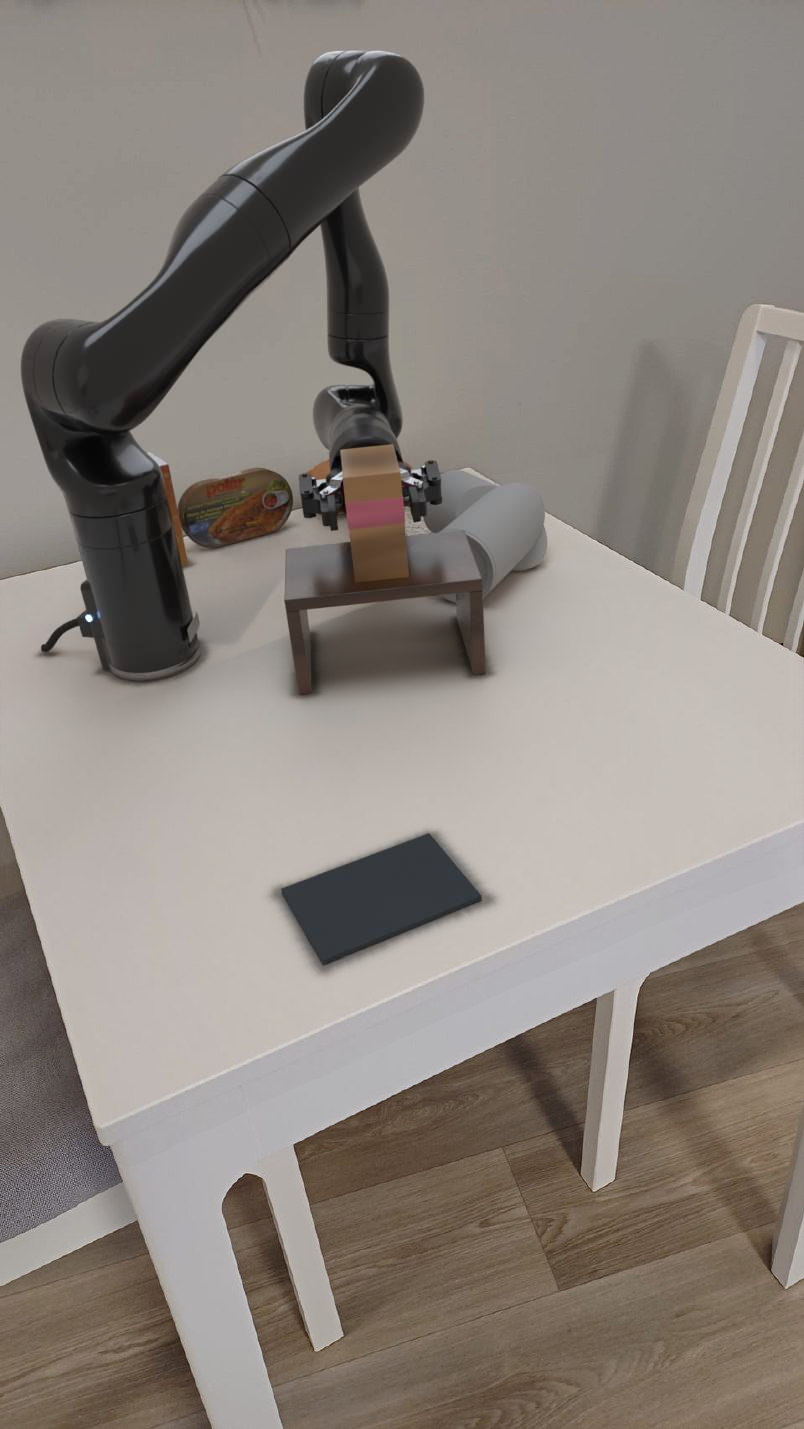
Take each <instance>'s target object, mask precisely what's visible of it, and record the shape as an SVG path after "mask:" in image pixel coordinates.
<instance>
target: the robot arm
mask: <svg viewBox="0 0 804 1429" xmlns="http://www.w3.org/2000/svg"><path fill="white" fill-rule="evenodd" d="M304 82H305V83H304V89H303V120H304V128H305V130H304V131H302V132H299V133H298V134H296V135H294V136H291V137H289V138H287V139H284V140H282V141H279V142H278V143H275V144H272V145H271V146H267V147H266V148H264V149H262V150H260V151H258V152H256V153H254V154H252V155H250V156H247V157H246V158H244V159H243V160H241V161H239V162H237V163H235V164H234V165H232V166H231V167H229V168H228V169H227V170H225V172H223V173H222V174H221V175H220V176H218V177H217V178H216V179H215V180H214V181H213V182H212V183H211V184H210V185H209V186H208V187H207V188H206V189H205V190H204V191H203V192H202V193H201V194H200V195H199V196H197V197H196V199H195V200H193V202H191V204H190V205H189V206H188V207H187V208H186V210H185V211H184V212H183V214H182V216H181V217H180V219H179V220H178V222H177V224H176V226H175V228H174V231H173V233H172V236H171V239H170V242H169V246H168V248H167V252H166V256H165V258H164V261H163V264H162V266H161V268H160V270H159V271H158V272H157V274H156V275H155V277H154V278H153V279H152V280H151V282H150V283H148V285H146V287H145V288H144V289H142V290H141V291H140V292H139V293H138V294H137V295H136V296H135V297H133V299H131V301H130V302H128V303H127V304H126V305H125V306H123V307H122V308H121V309H120V310H118V311H117V312H116V313H114V314H112V315H111V316H110V317H107V319H104V320H101V321H91V320H83V319H75V318H56V319H55V318H54V319H50V320H48V321H45V322H43V323H42V324H40V325H39V326H37V327H36V328H34V330H33V331H32V332H31V333H30V334H29V336H28V337H27V339H26V340H25V343H24V345H23V347H22V351H21V357H20V380H21V387H22V391H23V396H24V399H25V404H26V406H27V410H28V414H29V416H30V419H31V423H32V426H33V430H34V432H35V436H36V438H37V441H38V445H39V447H40V450H41V453H42V457H43V460H44V462H45V465H46V468H47V471H48V473H49V475H50V477H51V479H52V480H53V482H54V483H55V484H56V486H57V488H58V489H59V490H60V492H61V493H62V496H63V498H64V501H65V505H66V508H67V511H68V514H69V518H70V522H71V525H72V529H73V533H74V537H75V540H76V543H77V547H78V551H79V555H80V559H81V563H82V567H83V570H84V574H85V577H86V579H85V580H84V581H82V582H81V584H80V587H79V589H80V594H81V597H82V601H83V605H84V607H85V609H84V611H82V612H81V613H80V614H79V615H78V616H77V617H76V618H73V619H71V620H69V621H67V622H64V623H62V624H61V625H60V626H58V627H57V628H56V629H54V631H53V632H52V633H51V635H50V636H49V638H48V639H47V641H46V642H45V643H42V644H41V646H40V651H41V652H42V653H48V652H50V651H52V649H53V648H54V647H55V645H56V644H57V642H58V641H59V640H60V638H61V637H62V636H63V635H64V634H65V633H67V632H68V631H70V630H72V629H74V628H78V627H79V630H80V634H81V637H82V638H91V639H92V638H93V641H94V643H95V647H96V650H97V651H96V652H97V654H98V658H99V662H100V665H101V669H102V670H103V671H109V672H110V671H111V673H112V674H113V675H114V676H116V677H118V678H121V679H123V680H129V681H151V680H152V681H153V680H158V679H162V678H166V677H170V676H172V675H175V674H178V673H180V672H182V671H184V670H186V669H188V668H190V666H192V665H193V664H194V663H195V662H197V661H198V659H199V657H200V656H201V654H202V648H201V642H200V640H199V638H198V636H199V635H198V632H197V631H198V629H199V627H200V625H201V622H200V619H199V612H198V611H196V612H195V614H193V610H192V604H191V599H190V596H189V590H188V587H187V581H186V577H185V572H184V568H183V567H184V566H182V562H181V558H180V553H179V548H178V543H177V539H176V534H175V529H174V525H173V520H172V516H171V511H170V506H169V502H168V497H167V493H166V488H165V483H164V479H163V475H162V471H161V469H160V467H159V465H158V463H157V462H156V461H155V460H154V459H153V458H152V457H151V456H149V455H148V454H147V453H148V452H146V451H145V450H144V449H143V447H142V446H141V445H140V444H139V443H138V442H137V440H136V439H135V437H134V435H133V434H132V432H131V431H132V430H134V429H136V428H138V427H139V425H141V424H142V423H143V422H145V421H146V420H147V419H148V418H149V417H150V416H151V415H152V414H153V412H155V411H156V409H157V408H158V406H159V405H160V404H161V403H162V402H163V400H164V399H165V397H166V396H167V395H168V394H169V392H170V391H171V389H172V388H173V386H174V385H175V384H176V383H177V381H179V379H180V377H181V376H182V375H183V373H185V371H186V370H187V368H188V366H189V365H190V364H191V363H192V361H193V360H194V359H195V357H196V356H197V355H198V353H199V352H200V351H201V350H202V349H203V347H204V346H206V344H207V343H208V342H209V340H211V338H213V336H215V334H217V332H219V330H221V328H222V327H223V326H224V325H225V324H226V323H227V322H228V321H229V320H230V319H231V318H232V317H233V316H234V315H235V314H236V313H237V312H238V310H239V309H240V308H241V307H242V306H243V305H244V304H245V302H247V300H248V299H250V298H251V297H252V295H254V293H256V292H257V291H258V290H259V289H260V288H261V287H262V286H263V285H265V283H266V282H268V280H269V279H270V278H271V277H272V276H273V275H274V274H276V272H277V271H278V270H279V269H280V268H281V267H282V266H283V265H284V264H285V263H286V262H287V261H288V260H289V258H290V257H291V256H292V255H293V254H294V252H295V251H297V249H298V248H299V247H300V246H301V245H302V244H303V243H304V242H305V240H307V238H308V237H309V236H311V234H312V233H313V232H315V231H316V229H317V228H319V227H320V234H321V239H322V240H321V241H322V246H323V254H324V265H325V266H324V267H325V280H326V282H325V283H326V333H327V335H326V338H327V339H326V341H327V352H328V353H327V354H328V356H329V359H331V361H332V362H334V363H335V364H338V365H341V366H345V367H349V368H353V369H357V370H360V371H363V372H365V373H366V374H367V375H368V376H369V377H370V378H371V381H372V384H347V385H346V384H332V385H328V386H325V387H324V388H322V389H321V390H320V391H319V392H318V393H317V395H316V397H315V399H314V402H313V406H312V423H313V427H314V431H315V433H316V436H317V438H318V440H319V441H320V442H321V444H322V446H323V447H324V448H325V449H326V450H328V460H329V462H330V463H329V465H330V466H329V467H330V473H329V474H328V475H327V476H326V479H321V480H316V478H315V477H312V478H311V474H308V473H306V472H304V473H300V474H298V483H299V484H298V485H299V494H300V500H301V506H302V507H301V508H302V515H303V518H304V519H314V518H315V517H317V515H320V517H321V524H322V526H323V527H325V528H326V527H329V528H330V529H329V530H330V532H335V531H336V532H337V531H339V524H338V522H339V521H338V515H340V514H339V513H342V514H341V515H347V514H346V504H345V495H344V486H343V476H342V474H343V473H342V463H341V454H340V450H343V449H353V448H362V447H372V446H382V445H391V444H393V445H394V449H395V453H396V457H397V461H398V464H399V468H400V472H401V484H402V495H403V502H404V508H405V507H408V508H409V511H410V513H411V520H412V522H413V523H419V522H421V523H422V518H423V516H426V515H427V502H430V504H431V505H439V504H441V503H442V495H441V476H440V475H441V473H440V469H439V465H438V460H434V459H429V460H426V461H424V465H421V466H420V468H417V469H413V470H411V469H410V467H409V466H407V465H405V464H404V463H403V461H404V460H403V455H402V452H401V448H400V445H399V442H398V438H399V436H400V435H401V432H402V429H403V424H404V422H403V421H404V417H403V411H402V406H401V402H400V398H399V395H398V390H397V387H396V384H395V381H394V380H395V379H394V374H393V371H392V364H391V357H390V288H389V280H388V276H387V271H386V268H385V265H384V262H383V259H382V257H381V253H380V252H379V248H378V246H377V244H376V242H375V238H374V236H373V234H372V232H371V228H370V226H369V223H368V220H367V217H366V213H365V209H364V206H363V204H362V199H361V193H360V187H361V186H362V185H364V184H365V183H366V182H368V181H369V180H371V179H372V177H374V176H375V175H377V174H378V173H379V172H381V171H382V170H383V169H384V168H386V167H387V166H388V165H389V164H390V163H392V162H393V161H394V160H395V159H396V158H397V157H400V155H401V154H402V153H403V152H404V151H406V149H407V148H408V146H409V144H411V142H412V140H413V139H414V137H415V135H416V133H417V131H418V129H419V127H420V124H421V121H422V117H423V115H424V114H423V113H424V106H425V87H424V82H423V79H422V77H421V74H420V72H419V71H418V70H417V68H416V66H415V65H414V64H413V63H412V62H411V61H410V60H409V59H407V57H405V56H402V55H400V54H398V53H394V52H391V51H386V50H378V49H377V50H332V51H328V52H325V53H323V54H321V55H319V56H318V57H317V58H316V59H315V60H314V61H313V62H312V65H311V66H310V68H309V70H308V72H307V75H306V78H305V81H304Z"/></svg>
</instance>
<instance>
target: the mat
mask: <svg viewBox="0 0 804 1429" xmlns="http://www.w3.org/2000/svg"><path fill="white" fill-rule="evenodd" d="M280 891H281V894H282V895H283V897H284V899H285V902H286V903H287V904H288V906H289V909H291V911H292V913H293V915H294V916H295V918H296V920H297V922H298V924H299V925H300V927H301V929H302V930H303V932H304V934H305V935H306V938H307V939H308V942H310V944H311V946H312V948H313V949H314V951H315V953H316V955H317V957H318V958H319V960H320V962H321V964H322V965H326V964H328V963H330V962H334V961H336V960H337V959H341V958H344V957H345V956H348V955H350V954H352V953H355V952H357V951H360V950H362V949H365V948H367V947H371V946H373V945H375V944H377V943H379V942H382V941H384V940H387V939H390V938H393V937H394V936H396V935H400V934H401V933H404V932H407V931H410V930H411V929H414V928H417V927H419V926H422V925H424V924H426V923H428V922H430V921H433V920H436V919H438V918H441V917H443V916H446V915H448V914H450V913H453V912H456V911H458V910H460V909H463V908H465V907H468V906H470V905H472V904H475V903H477V902H480V901H482V900H483V898H482V894H480V892H479V891H478V890H477V888H476V887H475V886H474V885H473V883H472V882H471V881H470V880H469V878H467V876H465V874H464V873H463V872H462V870H461V869H460V868H459V866H457V864H456V863H455V862H454V861H453V860H452V859H451V857H450V856H449V855H448V854H447V852H446V851H445V850H444V849H443V847H441V845H440V844H439V843H438V842H437V841H436V839H435V838H434V837H433V836H432V835H431V833H430V832H428V833H425V834H423V835H420V836H418V837H415V838H411V839H409V840H406V841H404V842H401V843H399V844H396V845H393V846H391V847H388V848H385V849H382V850H379V851H377V852H375V853H372V854H369V855H367V856H364V857H361V858H359V859H356V860H353V861H351V862H348V863H345V864H343V865H340V866H337V867H335V868H332V869H330V870H327V871H324V872H322V873H319V874H316V875H314V876H313V875H312V876H311V877H309V878H305V879H303V880H299V881H297V882H294V883H292V884H289V885H287V886H284V887H281V888H280Z"/></svg>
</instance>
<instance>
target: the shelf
mask: <svg viewBox="0 0 804 1429" xmlns="http://www.w3.org/2000/svg"><path fill="white" fill-rule="evenodd" d="M406 546H407V558H408V571H409V577H406V578H397V579H388V580H379V581H369V582H360V583H355V579H354V570H353V561H352V552H351V543H350V541H346V542H336V543H327V544H318V545H308V546H299V547H289V548H285V568H284V569H285V571H284V600H283V601H284V606H285V613H286V621H287V626H288V633H289V639H290V640H289V641H290V646H291V652H292V658H293V664H294V665H293V666H294V672H295V677H296V683H297V685H296V686H297V691H298V695H308V694H312V643H311V642H312V641H311V640H312V639H311V629H310V622H309V614H308V611H309V610H315V609H317V610H318V609H327V608H334V607H343V606H344V607H345V606H354V605H364V604H371V603H380V602H381V603H382V602H389V601H390V602H391V601H399V600H409V599H417V598H427V597H436V596H437V597H438V596H441V595H446V594H455V593H456V603H455V606H456V620H457V624H458V627H459V630H460V634H461V637H462V640H463V644H464V647H465V650H466V654H467V658H468V661H469V664H470V667H471V670H472V674H473V676H478V675H486V673H487V670H486V669H487V668H486V667H487V666H486V642H485V641H486V640H485V639H486V638H485V614H484V612H485V611H484V598H483V591H482V590H483V584H482V577H481V574H480V572H479V569H478V566H477V564H476V561H475V558H474V556H473V553H472V550H471V547H470V545H469V542H468V539H467V537H466V534H465V531H464V530H457V531H448V532H438V533H432V532H431V533H421V534H412V535H411V534H410V535H406Z"/></svg>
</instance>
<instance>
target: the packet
mask: <svg viewBox="0 0 804 1429" xmlns="http://www.w3.org/2000/svg"><path fill="white" fill-rule="evenodd" d="M340 454H341V463H342V473H343V474H342V476H343V486H344V495H345V504H346V513H347V514H346V521H347V529H348V534H349V542H350V543H351V552H352V561H353V570H354V579H355V583H360V582H369V581H379V580H388V579H397V578H406V577H409V571H408V558H407V546H406V536H407V534H406V516H405V507H404V502H403V495H402V484H401V472H400V468H399V464H398V461H397V457H396V453H395V449H394V445H393V444H391V445H382V446H372V447H362V448H353V449H343V450H340Z"/></svg>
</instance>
